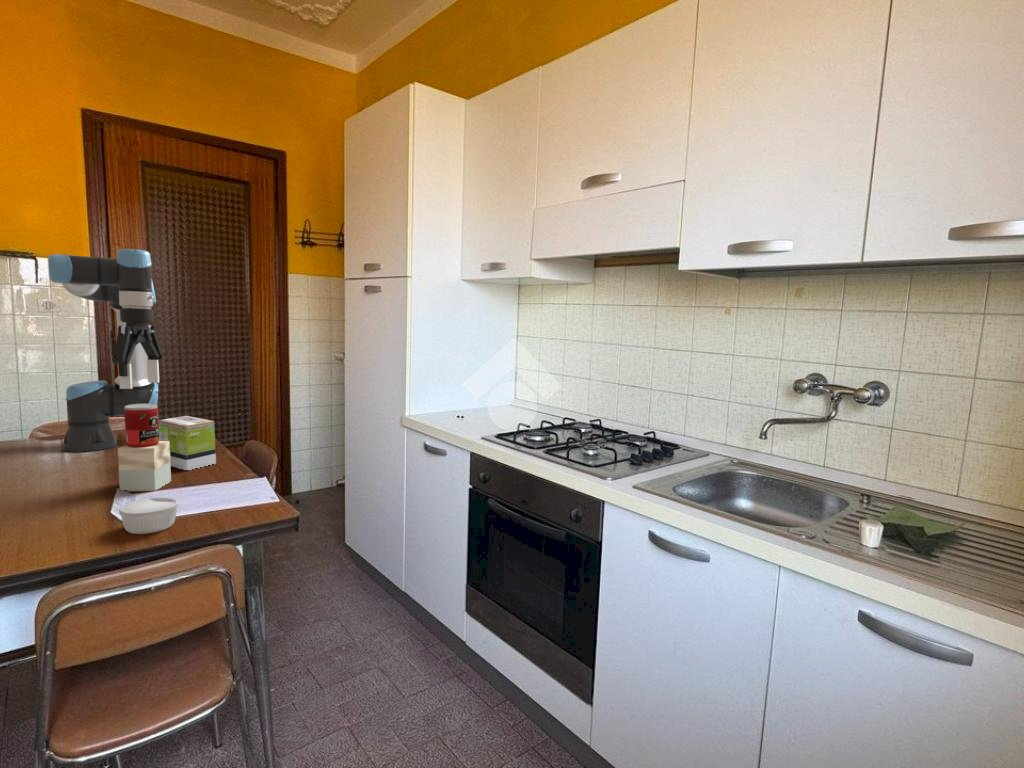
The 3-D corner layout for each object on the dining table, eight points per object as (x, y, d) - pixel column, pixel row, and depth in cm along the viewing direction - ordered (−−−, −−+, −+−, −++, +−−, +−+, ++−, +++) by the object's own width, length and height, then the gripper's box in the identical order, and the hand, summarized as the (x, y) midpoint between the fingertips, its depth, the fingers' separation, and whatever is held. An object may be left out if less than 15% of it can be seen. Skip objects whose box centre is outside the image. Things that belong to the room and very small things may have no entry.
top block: (136, 461, 158) (135, 441, 157) (170, 461, 159) (169, 441, 159) (118, 470, 149) (117, 448, 149) (154, 469, 150) (153, 448, 150)
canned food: (143, 448, 149) (141, 408, 148) (118, 446, 151) (116, 406, 149) (166, 442, 157) (164, 404, 155) (142, 440, 158) (140, 402, 157)
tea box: (158, 464, 177) (156, 419, 175) (188, 458, 186) (187, 414, 184) (186, 471, 170) (184, 424, 168) (217, 464, 179) (215, 419, 177)
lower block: (137, 481, 159) (136, 461, 158) (171, 481, 160) (170, 461, 159) (119, 491, 150) (118, 470, 149) (155, 491, 151) (154, 469, 150)
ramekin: (188, 518, 132) (188, 497, 131) (160, 537, 121) (159, 513, 120) (141, 517, 132) (140, 496, 131) (108, 536, 121) (107, 512, 120)
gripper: (124, 307, 137) (128, 391, 140) (174, 308, 162) (177, 380, 164) (92, 306, 136) (97, 391, 139) (146, 308, 161) (150, 379, 164)
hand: (140, 385), depth 152 cm, fingers open, 13 cm apart
